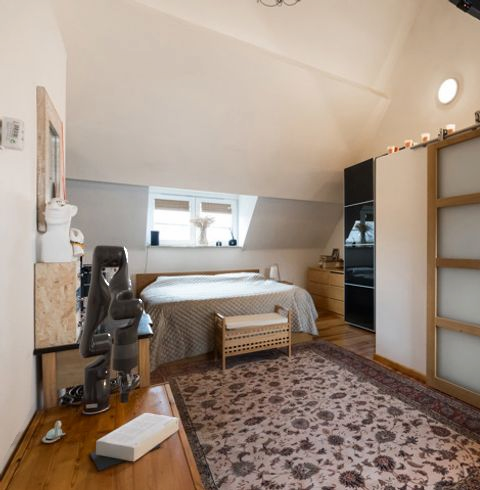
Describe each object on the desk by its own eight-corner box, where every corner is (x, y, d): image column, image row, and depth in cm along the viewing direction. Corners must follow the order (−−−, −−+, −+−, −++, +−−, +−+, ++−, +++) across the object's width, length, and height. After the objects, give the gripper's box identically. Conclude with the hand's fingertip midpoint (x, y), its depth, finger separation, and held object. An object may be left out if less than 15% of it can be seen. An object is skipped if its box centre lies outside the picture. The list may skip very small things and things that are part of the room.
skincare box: (95, 456, 121) (133, 462, 118) (95, 440, 121) (133, 446, 118) (145, 425, 142) (179, 429, 138) (145, 412, 142) (179, 416, 138)
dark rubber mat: (89, 454, 122) (89, 453, 122) (147, 433, 136) (147, 432, 136) (99, 471, 114) (99, 470, 114) (160, 447, 127) (160, 446, 127)
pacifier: (46, 446, 126) (67, 438, 131) (45, 429, 126) (66, 422, 131) (39, 439, 130) (60, 432, 135) (39, 423, 130) (59, 416, 135)
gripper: (143, 356, 124) (142, 404, 125) (131, 348, 133) (130, 393, 133) (118, 362, 119) (117, 412, 119) (107, 352, 127) (106, 399, 128)
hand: (124, 402), depth 126 cm, fingers closed
